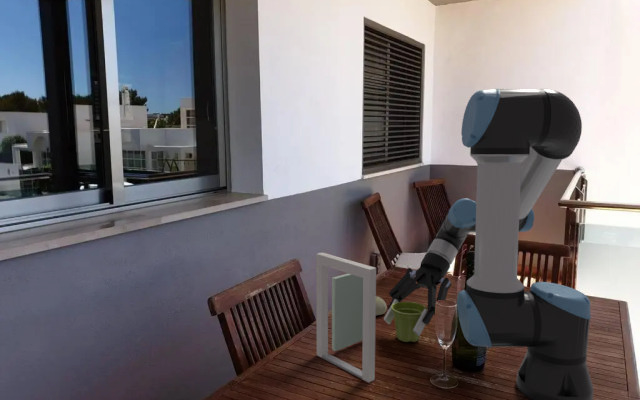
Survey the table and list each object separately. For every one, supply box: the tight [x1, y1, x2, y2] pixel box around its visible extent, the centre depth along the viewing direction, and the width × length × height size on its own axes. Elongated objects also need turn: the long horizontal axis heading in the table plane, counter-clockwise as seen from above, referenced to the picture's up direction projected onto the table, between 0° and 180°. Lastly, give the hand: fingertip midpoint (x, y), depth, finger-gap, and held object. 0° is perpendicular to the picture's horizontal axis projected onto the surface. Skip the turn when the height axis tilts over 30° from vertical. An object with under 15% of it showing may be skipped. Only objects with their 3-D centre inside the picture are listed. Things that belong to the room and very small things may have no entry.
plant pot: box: [391, 301, 428, 343], centre depth 135 cm, size 9×9×9 cm
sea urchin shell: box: [376, 295, 388, 316], centre depth 155 cm, size 9×8×8 cm
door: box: [331, 273, 363, 352], centre depth 130 cm, size 13×3×19 cm, turn 131°
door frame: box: [315, 252, 377, 383], centre depth 118 cm, size 18×2×26 cm, turn 41°
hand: (401, 327), depth 133 cm, fingers closed on plant pot, 9 cm apart
